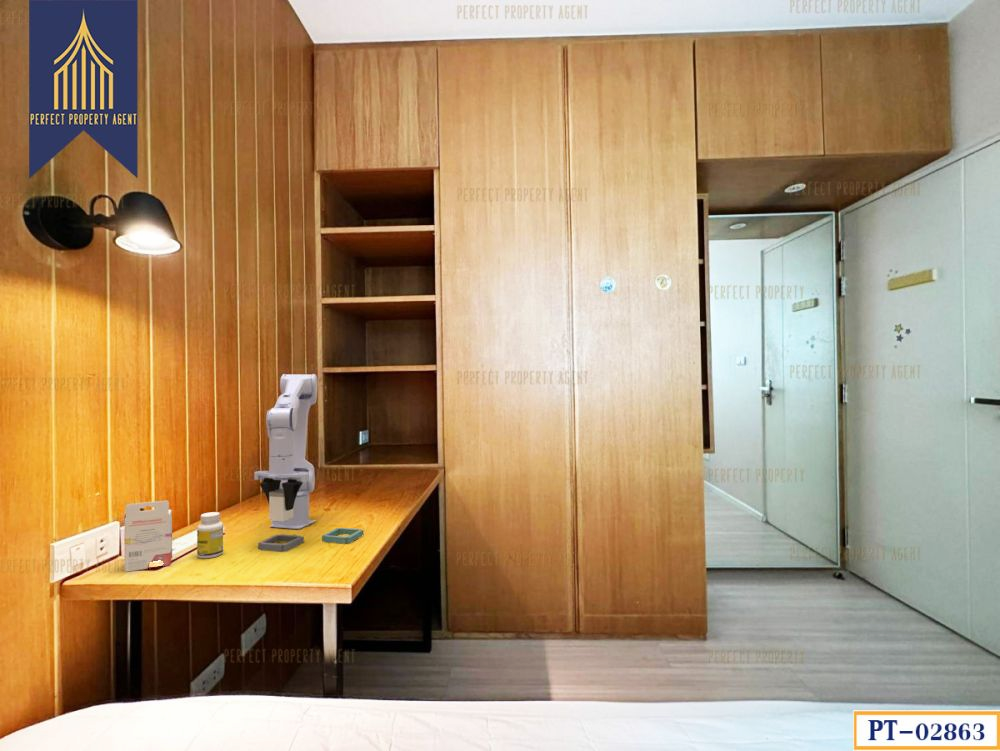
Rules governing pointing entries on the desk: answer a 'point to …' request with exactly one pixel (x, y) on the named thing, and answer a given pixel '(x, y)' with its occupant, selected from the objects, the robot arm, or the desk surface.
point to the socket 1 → (272, 546)
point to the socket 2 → (341, 539)
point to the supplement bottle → (210, 536)
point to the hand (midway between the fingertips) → (281, 509)
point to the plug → (278, 506)
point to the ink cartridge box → (147, 535)
